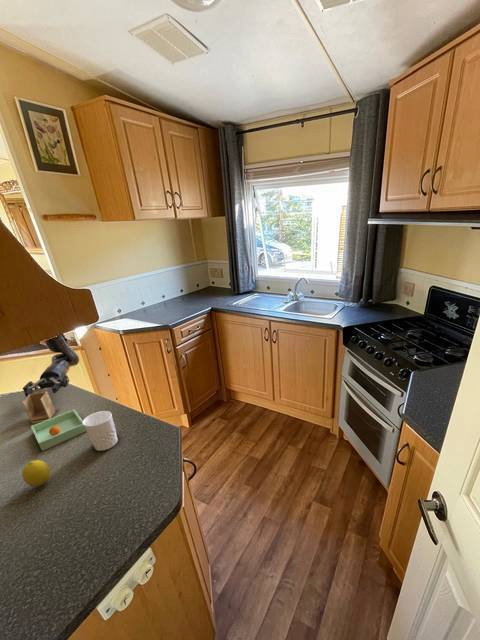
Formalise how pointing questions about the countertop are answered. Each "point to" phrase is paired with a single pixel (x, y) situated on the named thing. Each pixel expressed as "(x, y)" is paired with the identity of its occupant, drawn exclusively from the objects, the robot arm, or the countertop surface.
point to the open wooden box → (39, 407)
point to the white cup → (101, 430)
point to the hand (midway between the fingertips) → (40, 393)
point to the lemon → (36, 473)
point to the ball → (54, 430)
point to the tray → (68, 429)
